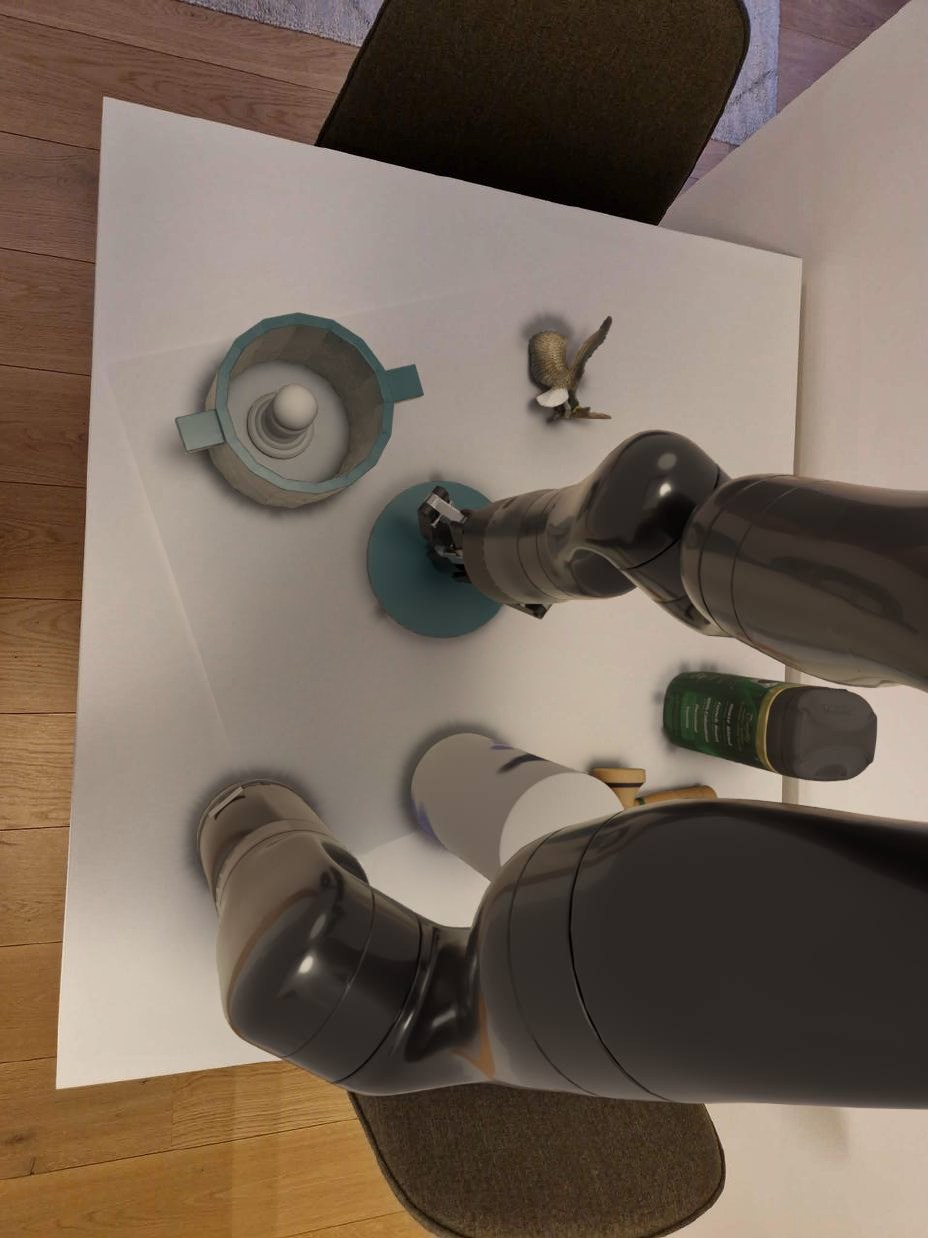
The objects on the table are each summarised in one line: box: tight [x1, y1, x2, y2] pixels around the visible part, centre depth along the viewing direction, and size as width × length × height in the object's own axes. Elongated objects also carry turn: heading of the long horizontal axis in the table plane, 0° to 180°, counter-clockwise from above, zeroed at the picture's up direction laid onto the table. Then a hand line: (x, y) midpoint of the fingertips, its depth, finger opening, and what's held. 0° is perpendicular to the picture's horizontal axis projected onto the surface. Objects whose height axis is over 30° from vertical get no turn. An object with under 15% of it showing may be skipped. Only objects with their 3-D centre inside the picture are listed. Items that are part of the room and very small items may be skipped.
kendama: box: [592, 767, 719, 810], centre depth 82 cm, size 8×6×18 cm
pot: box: [174, 311, 425, 509], centre depth 67 cm, size 13×18×10 cm
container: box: [410, 732, 624, 883], centre depth 69 cm, size 10×10×20 cm
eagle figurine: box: [528, 315, 613, 421], centre depth 79 cm, size 8×7×9 cm
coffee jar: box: [663, 671, 878, 783], centre depth 79 cm, size 10×8×19 cm
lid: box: [366, 480, 504, 639], centre depth 75 cm, size 14×14×6 cm
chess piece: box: [246, 383, 319, 459], centre depth 68 cm, size 5×5×9 cm
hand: (448, 559), depth 76 cm, fingers closed on lid, 2 cm apart
